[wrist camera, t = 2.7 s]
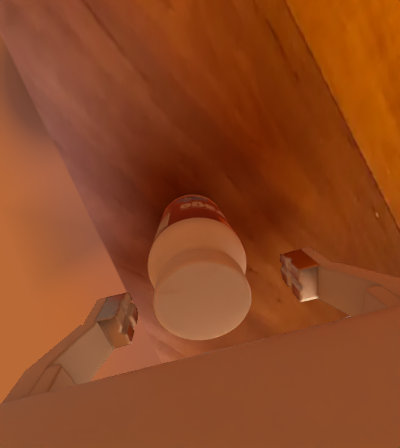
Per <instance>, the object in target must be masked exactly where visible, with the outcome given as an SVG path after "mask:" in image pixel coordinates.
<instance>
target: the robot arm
mask: <svg viewBox="0 0 400 448" xmlns="http://www.w3.org/2000/svg"><path fill="white" fill-rule="evenodd" d="M280 262H281V263H282V264H283V265H282V267H281V274H282V277H283V280H284V281H285V283H286V284H287V286H289V287H291V288H292V291H293V293H294V295H295V296H296V297H297V298H298V300H299V301H300V302H302V301H307V300H312V299H316V298H318V299H319V300H321V301H323V302H325V303H327V304H329V305H331V306H333V307H335V308H337V309H338V310H340V311H342V312H344V313H346V314H348V315H350V316H352V317H349V318H344V319H340V320H336V321H332V322H328V323H324V324H320V325H317V326H313V327H309V328H305V329H300V330H296V331H292V332H288V333H284V334H280V335H276V336H272V337H268V338H264V339H260V340H256V341H252V342H248V343H244V344H239V345H235V346H231V347H227V348H223V349H219V350H215V351H211V352H207V353H203V354H199V355H195V356H191V357H187V358H183V359H179V360H175V361H171V362H167V363H163V364H159V365H155V366H151V367H147V368H143V369H139V370H135V371H131V372H127V373H123V374H119V375H115V376H111V377H107V378H103V379H99V380H95V381H91V379H92V378H93V377H94V375H95V374H96V373H97V371H98V370H99V369H100V367H101V366H102V365H103V363H104V362H105V361H106V359H107V358H108V357H109V355H110V354H111V353H112V351H113V349H115V348H118V347H122V346H126V345H129V344H131V342H132V338H133V334H134V330H133V327H134V326H135V325H136V324H137V320H138V312H137V308H136V306H135V305H134V304H133V303H131V300H132V297H131V295H130V294H129V293H123V294H119V295H114V296H110V297H106V298H102V299H99V300H98V301H97V302H96V304H95V305H94V307H93V309H92V310H91V312H90V314H89V316H88V317H87V319H86V321H85V322H84V324H83V325H80V326H79V327H78V328H76V329H75V330H74V331H73V332H72V333H70V334H69V335H68V336H67V337H66V338H64V339H63V340H62V341H61V342H60V343H58V344H57V345H56V346H55V347H54V348H53V349H51V350H50V351H49V352H48V353H46V354H45V355H44V356H43V357H42V358H41V359H39V360H38V361H37V362H36V363H35V364H33V365H32V366H31V367H30V368H29V369H27V370H26V371H25V372H24V374H23V375H22V376H21V378H20V379H19V380H18V382H17V383H16V385H15V386H14V387H13V389H12V390H11V391H10V393H9V394H8V396H7V397H6V398H5V400H4V401H3V402H2V404H0V448H400V278H399V277H395V276H390V275H386V274H382V273H378V272H374V271H370V270H366V269H362V268H358V267H354V266H350V265H346V264H342V263H338V262H333V263H332V262H331V261H329V260H328V259H326V258H325V257H324V256H322V255H321V254H320V253H318V252H317V251H315V250H314V249H313V248H311V247H306V248H302V249H299V250H296V251H292V252H288V253H284V254H280ZM90 381H91V382H90Z"/></svg>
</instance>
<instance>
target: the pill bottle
mask: <svg viewBox="0 0 400 448" xmlns="http://www.w3.org/2000/svg"><path fill="white" fill-rule="evenodd" d="M245 271H246V255H245V251H244V248H243V246H242V244H241V242H240V240H239V238H238V236H237V235H236V233H235V232H234V230H233V229H232V227H231V226H230V224H229V223H228V221H227V220H226V218H225V217H224V215H223V213H222V212H221V210H220V209H219V207H218V206H217V205H216V204H215V203H214V202H213V201H212V200H210V199H208V198H207V197H204V196H201V195H185V196H181V197H179V198H177V199H175V200H174V201H172V202H171V203H170V204H169V205H168V207H167V208H166V209H165V211H164V213H163V215H162V218H161V221H160V224H159V227H158V230H157V233H156V236H155V239H154V242H153V245H152V247H151V251H150V254H149V258H148V274H149V278H150V281H151V283H152V285H153V287H154V289H155V290H154V296H153V308H154V313H155V315H156V318H157V320H158V321H159V323H160V324H161V325H162V326H163V327H164V328H165V329H166V330H167V331H169V332H170V333H172V334H174V335H176V336H178V337H181V338H185V339H191V340H206V339H212V338H216V337H219V336H222V335H224V334H226V333H228V332H230V331H231V330H233V329H234V328H235V327H237V326H238V325H239V324H240V323H241V322H242V321H243V319H244V318H245V316H246V315H247V313H248V311H249V308H250V304H251V290H250V286H249V283H248V281H247V279H246V277H245Z"/></svg>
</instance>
